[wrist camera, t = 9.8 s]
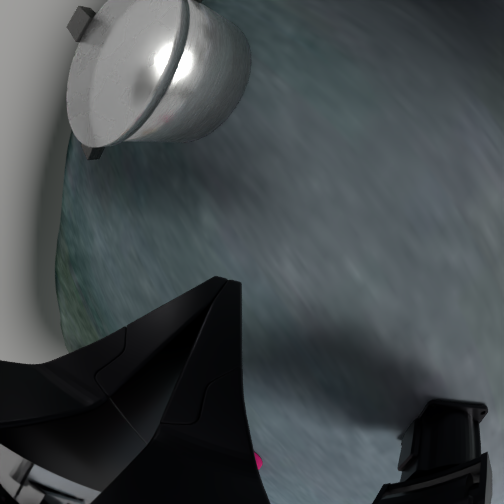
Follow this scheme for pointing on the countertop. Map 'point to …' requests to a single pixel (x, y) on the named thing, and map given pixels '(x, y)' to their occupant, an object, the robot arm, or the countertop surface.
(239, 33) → the steel pot
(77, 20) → the steel lid
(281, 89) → the countertop surface
